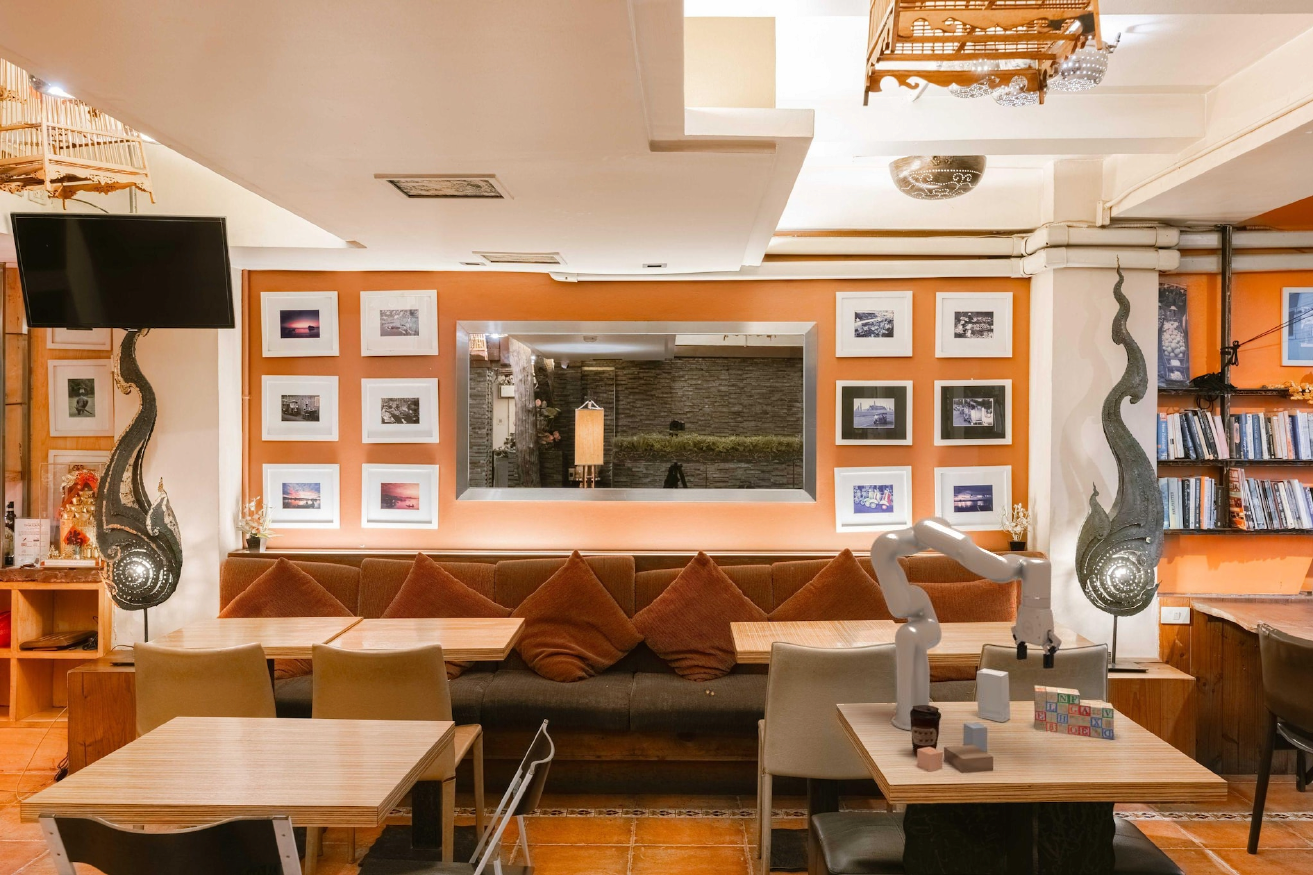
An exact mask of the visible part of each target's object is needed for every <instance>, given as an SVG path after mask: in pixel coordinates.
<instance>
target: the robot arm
mask: <svg viewBox="0 0 1313 875" xmlns="http://www.w3.org/2000/svg"><path fill="white" fill-rule="evenodd" d="M930 549H931V550H934V551H935V552H938V553H940V554H942V555H945V556H947V557H949V558H950V559H953V560H955V561H957V562H958V563H959V564H960V565H961V566H963V567H965V569H967V570H969V571H971V572H972V573H974V574H976V575H977V576H980V577H982V578H984V579H986V580H989V581H991V582H995V583H997V584H1007V583H1010V582H1014V581H1021V595H1020V598H1019V599H1020V602H1021V604H1019V605H1018V610H1017V612H1016V613H1017V614H1016V620H1015V621H1016V622H1015V625H1014V626H1011V627H1010V630H1011V633H1012V638H1013V640H1014V644H1015V646H1016V660H1018V661H1021V660H1023V661H1024V660H1027V659H1028V645H1027V644H1030V645H1033V646H1037V647H1041V648H1042V649H1043V651H1044V653H1043V654H1042V655H1043V656H1042V668H1043V669H1045V670H1047V669H1048V670H1049V669H1054V668H1055V667H1054V666H1055V655H1057V652H1058V651H1059V650H1060V647H1061V644H1062V640H1061V639H1060V638H1059V637H1058V636H1057V635H1056V634H1055V625H1054V624H1055V623H1054V615H1053V614H1054V613H1053V610H1052V609H1051V606H1052V605H1051V604H1052V598H1051V597H1052V596H1051V595H1052V562H1051V561H1050V559H1047V558H1044V557H1043V558H1042V557H1028V556H1023V555H1020V554H1015V553H1008V554H1003V555H997V554H995V553H993V552H990V551H988V550H986V549H985V548H982V547H980V546H978V545H977V544H976V543H975V542H974V540H973V537H972V536H971V535H970V534H969V533H966V532H964V531H962V530H960V529H957V528H954V527H952V524H951V522H949V521H948V520H947V519H946V518H943V517H941V516H930V517H929V516H928V517H924V518H921V519H919V520H918V521H917V522H915V523H914V525H913V526H909V527H907V528H904V529H895V530H889V531H886V532H883V533H882V534H880V535H878V536H877V538H875V540H874V541H873V543H872V544H871V548H870V554H869V555H870V556H869V557H870V562H871V565H872V568H873V570H874V572H875V574H876V577H877V580H878V584H879V586H880V589H881V591H882V595H883V598H884V600H885V604H886V606H887V609H888V611H889V612H890V614H891V615H892V616H893V617H894V618H895V619H896V618H897V619H902V620H903V619H907V622H906V623H903V624H902V625H901V626H899V627H898V628H897V630H896V632H895V636H894V644H895V651H896V660H897V661H896V662H897V663H896V664H897V665H896V667H897V669H896V670H897V671H896V676H897V677H896V679H897V681H896V682H897V683H896V684H897V685H896V686H897V687H896V688H897V690H896V705H895V706H893V710H894V711H896V716H895V715H894V716H893V717H892V718H891V724H892V725H893V726H895V727H896V728H899V729H902V730H906V731H911V718H910V711H911V710H912V709H913V706H918V705H929V706H930V663H929V657H928V652H927V651H928V650H930V649H933V648H934V647H937V646H938V645H939V643H940V642H941V640H942V630H941V625H940V622H939V620H938V617H937V614H936V612H935V609H934V607H933V604H932V601H931V599H930V596H929V595H928V593H927V592H926V591H925V590H924V589H923V588H922V587H920V586H918V585H916V584H915V585H914V584H910V583H909V581H908V578H907V575H906V573H905V570H904V568H903V567H902V566H901V563H899V560H898V558H903V557H908V556H909V557H910V556H913V555H916V554H919V553H922V552H924V551H927V550H930Z"/></svg>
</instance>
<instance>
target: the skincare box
mask: <svg viewBox="0 0 1313 875" xmlns="http://www.w3.org/2000/svg"><path fill="white" fill-rule="evenodd" d="M1009 678H1010V677H1009V672H1008V671H1002V670H995V669H990V668H985V667H984V668H982V669H980V670H978V671H976V681H977V682H976V687H977V688H976V689H977V715H978V716H977V717H978V718H981V719H985V720H989V721H993V722H994V721H995V722H997V723H1004V722H1006V721H1009V720H1011V703H1010V683H1009V682H1010V680H1009Z"/></svg>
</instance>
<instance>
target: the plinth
mask: <svg viewBox="0 0 1313 875" xmlns="http://www.w3.org/2000/svg"><path fill="white" fill-rule="evenodd" d="M943 761H944V762H945V763H947V764H949V765H950V766H952V767H953V768H954V769H956V770H958V771H959V772H960V773H962V774H967V773H969V774H970V773H980V772H993V771H994V756H993V755H991V754H990V753H988V752H985V751H983V750H981V749H979V748H978V747H976V746H974V745H966V746H963V745H956V746H955V745H953V746H952V745H951V746H943Z"/></svg>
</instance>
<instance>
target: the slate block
mask: <svg viewBox="0 0 1313 875" xmlns="http://www.w3.org/2000/svg"><path fill="white" fill-rule="evenodd" d="M962 743H963V744H962V746H966V745H974V746H976V747H978V748H979V749H981V750H983V751H985V752H986V753H988V727H987V726H986V725H984V724H981V722H964V723H963V742H962Z"/></svg>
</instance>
